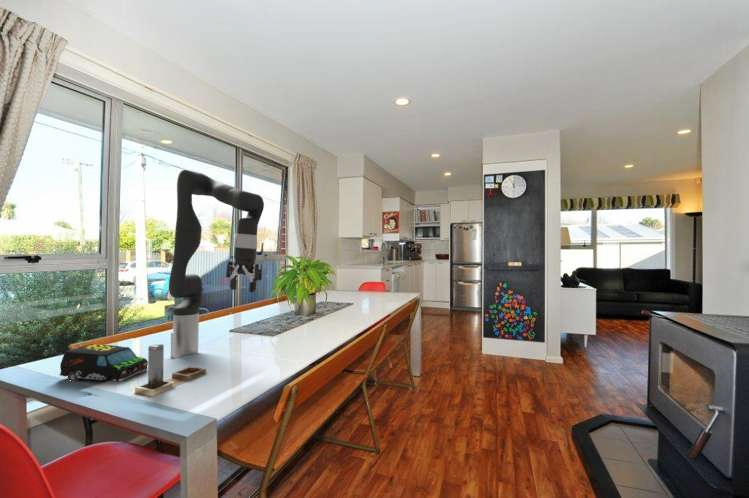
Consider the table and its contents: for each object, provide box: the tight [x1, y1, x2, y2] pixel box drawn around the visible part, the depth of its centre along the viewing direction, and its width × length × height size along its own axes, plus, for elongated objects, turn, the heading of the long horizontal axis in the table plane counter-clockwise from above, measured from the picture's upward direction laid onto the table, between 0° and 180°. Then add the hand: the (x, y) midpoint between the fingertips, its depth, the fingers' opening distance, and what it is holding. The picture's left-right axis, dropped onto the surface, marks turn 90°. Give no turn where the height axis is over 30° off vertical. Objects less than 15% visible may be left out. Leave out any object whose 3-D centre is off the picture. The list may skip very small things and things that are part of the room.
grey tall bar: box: [147, 343, 165, 389], centre depth 99 cm, size 4×4×13 cm
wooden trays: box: [133, 366, 207, 398], centre depth 104 cm, size 7×20×3 cm, turn 161°
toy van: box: [59, 343, 148, 383], centre depth 111 cm, size 11×25×10 cm, turn 80°
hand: (242, 290), depth 121 cm, fingers open, 8 cm apart
